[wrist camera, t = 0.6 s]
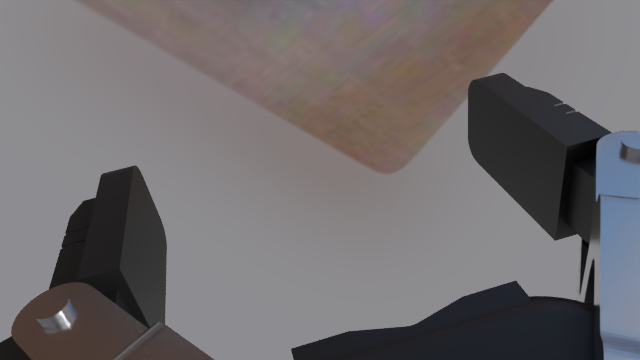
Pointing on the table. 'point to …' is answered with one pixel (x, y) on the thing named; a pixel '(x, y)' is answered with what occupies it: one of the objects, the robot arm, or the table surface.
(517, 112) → the robot arm
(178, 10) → the table surface
